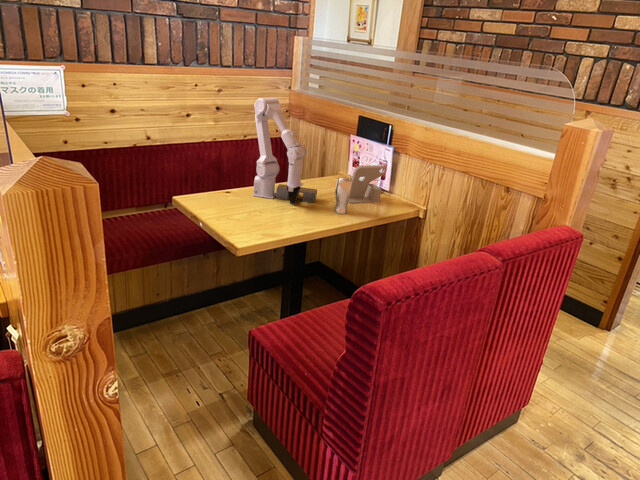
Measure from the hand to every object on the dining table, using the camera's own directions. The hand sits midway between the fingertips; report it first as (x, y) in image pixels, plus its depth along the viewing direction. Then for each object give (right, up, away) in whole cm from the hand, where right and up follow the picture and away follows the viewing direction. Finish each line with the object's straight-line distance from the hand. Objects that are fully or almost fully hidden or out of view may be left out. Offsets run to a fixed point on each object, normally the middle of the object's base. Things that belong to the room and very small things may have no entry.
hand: (292, 202), depth 222 cm
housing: (+1, +2, +9) cm, 9 cm away
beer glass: (+22, -5, -2) cm, 22 cm away
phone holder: (+33, +2, +18) cm, 37 cm away
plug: (0, +2, +8) cm, 8 cm away
